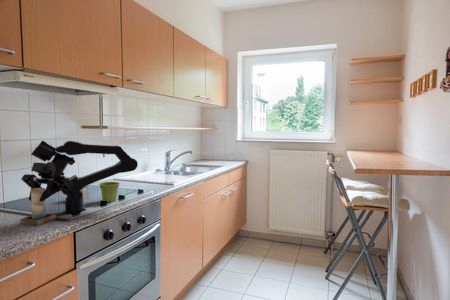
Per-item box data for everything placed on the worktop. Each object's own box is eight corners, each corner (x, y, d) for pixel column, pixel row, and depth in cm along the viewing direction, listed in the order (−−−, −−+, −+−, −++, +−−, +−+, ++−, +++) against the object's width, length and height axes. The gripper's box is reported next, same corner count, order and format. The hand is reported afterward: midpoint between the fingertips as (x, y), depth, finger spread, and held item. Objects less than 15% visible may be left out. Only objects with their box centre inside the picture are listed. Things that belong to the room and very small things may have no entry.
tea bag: (77, 198, 147) (76, 178, 146) (88, 199, 145) (88, 179, 144) (71, 200, 143) (71, 179, 143) (83, 201, 142) (82, 180, 141)
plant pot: (110, 197, 149) (110, 181, 148) (124, 200, 145) (123, 182, 144) (94, 201, 141) (94, 183, 140) (108, 204, 136) (108, 185, 136)
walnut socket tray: (38, 217, 115) (38, 212, 115) (56, 219, 113) (55, 214, 113) (20, 223, 107) (20, 218, 107) (38, 225, 105) (38, 220, 105)
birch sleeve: (39, 215, 113) (38, 187, 112) (48, 216, 112) (47, 188, 111) (28, 219, 108) (27, 189, 108) (38, 220, 107) (37, 190, 107)
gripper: (24, 153, 114) (-2, 187, 104) (66, 155, 110) (44, 189, 100) (41, 170, 122) (19, 203, 112) (81, 172, 119) (61, 206, 109)
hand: (35, 200), depth 108 cm, fingers closed on birch sleeve, 4 cm apart
